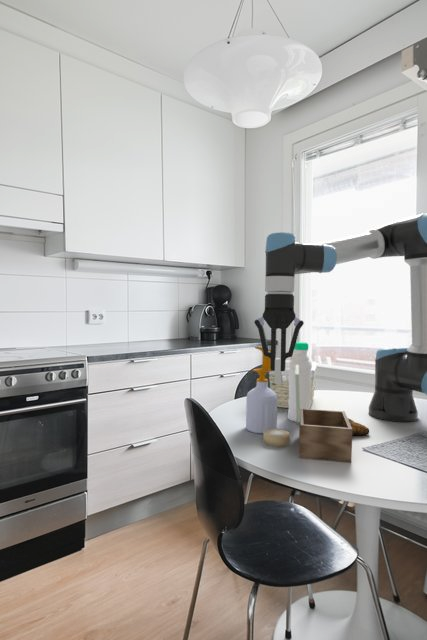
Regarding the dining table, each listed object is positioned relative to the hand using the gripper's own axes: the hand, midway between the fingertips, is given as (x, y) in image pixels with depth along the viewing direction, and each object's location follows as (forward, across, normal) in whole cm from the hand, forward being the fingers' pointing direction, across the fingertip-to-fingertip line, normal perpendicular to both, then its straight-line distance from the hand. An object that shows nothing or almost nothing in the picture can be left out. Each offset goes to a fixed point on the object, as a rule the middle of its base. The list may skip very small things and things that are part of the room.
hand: (277, 383), depth 106 cm
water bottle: (+17, -6, -25) cm, 31 cm away
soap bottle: (+17, +5, -12) cm, 21 cm away
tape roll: (+16, 0, -2) cm, 17 cm away
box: (+16, -12, 0) cm, 20 cm away
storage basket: (+17, -4, -48) cm, 51 cm away
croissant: (+17, -19, -14) cm, 29 cm away
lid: (+2, -6, 0) cm, 6 cm away
